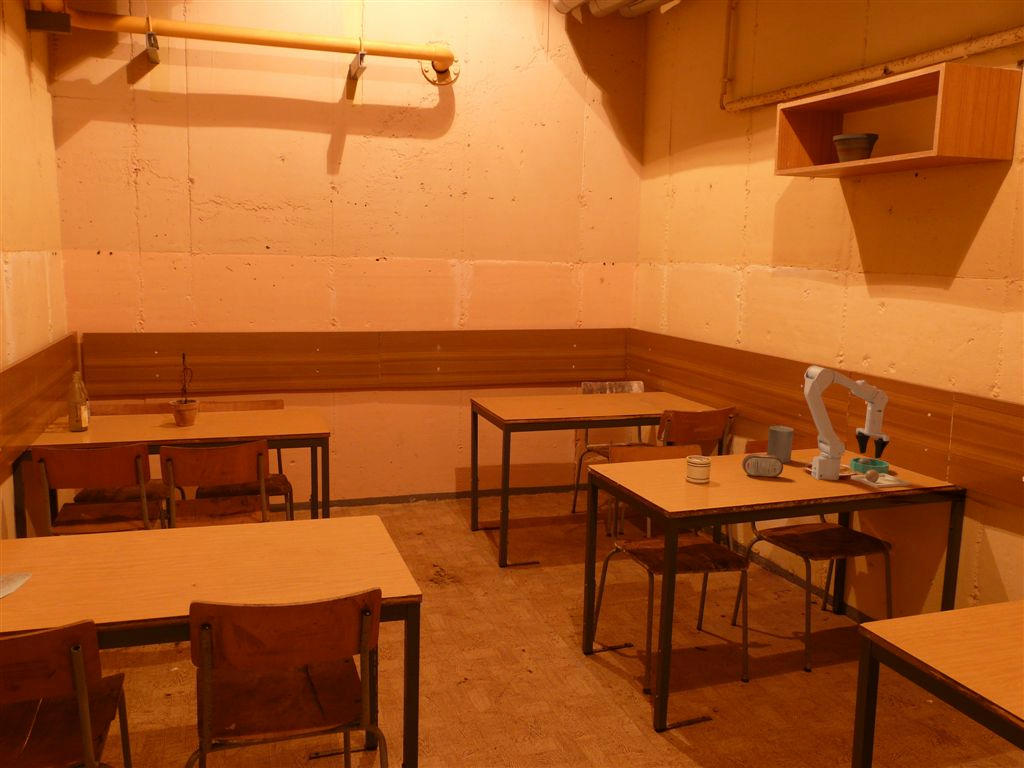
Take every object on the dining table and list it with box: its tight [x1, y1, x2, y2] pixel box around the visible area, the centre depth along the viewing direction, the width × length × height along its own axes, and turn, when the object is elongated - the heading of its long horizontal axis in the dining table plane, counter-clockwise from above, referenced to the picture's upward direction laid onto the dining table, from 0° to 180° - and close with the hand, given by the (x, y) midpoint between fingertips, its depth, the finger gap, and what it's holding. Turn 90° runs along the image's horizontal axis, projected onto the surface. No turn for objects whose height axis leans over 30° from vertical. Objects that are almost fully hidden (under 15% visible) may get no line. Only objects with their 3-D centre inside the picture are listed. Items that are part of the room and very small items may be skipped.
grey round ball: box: [858, 457, 871, 466], centre depth 327 cm, size 5×5×5 cm
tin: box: [741, 453, 784, 478], centre depth 314 cm, size 15×3×8 cm, turn 84°
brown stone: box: [864, 470, 879, 483], centre depth 309 cm, size 5×5×5 cm
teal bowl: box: [849, 457, 890, 475], centre depth 328 cm, size 14×14×4 cm
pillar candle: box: [766, 424, 795, 464], centre depth 340 cm, size 10×10×15 cm
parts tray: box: [850, 473, 911, 489], centre depth 310 cm, size 16×13×2 cm
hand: (870, 455), depth 315 cm, fingers open, 7 cm apart
